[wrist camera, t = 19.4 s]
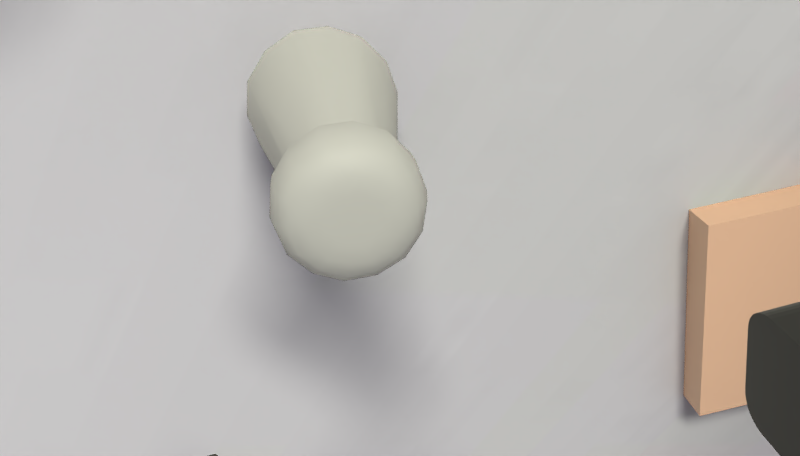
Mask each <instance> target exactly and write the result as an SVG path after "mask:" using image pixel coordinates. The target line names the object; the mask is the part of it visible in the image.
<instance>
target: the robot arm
mask: <svg viewBox="0 0 800 456" xmlns="http://www.w3.org/2000/svg"><path fill="white" fill-rule="evenodd" d="M745 396H746V401H747V405H748V409H749V411H750V414H751V416H752V419H753V421H754V423H755V424H756V426H757V428H758V429H759V431H760V432H761V433H762V435H763V436H764V437H765V438H766V439H767V441H768V442H769V443H770V444H771V445H772V446H773V448H774V449H775V450H776V451H777V452H778V453H779V455H780V456H800V302H796V303H792V304H789V305H785V306H781V307H777V308H773V309H770V310H766V311H762V312H758V313H755V314H753V315H752V316H751V318H750V319H749V323H748V338H747V360H746V382H745ZM209 456H218V455H216V454H213V455H209Z"/></svg>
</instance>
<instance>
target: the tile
mask: <svg viewBox="0 0 800 456" xmlns="http://www.w3.org/2000/svg"><path fill="white" fill-rule="evenodd" d="M796 302H800V185H796V186H792V187H787V188H783V189H778V190H774V191H769V192H765V193H760V194H756V195H752V196H747V197H743V198H738V199H734V200H729V201H725V202H721V203H716V204H712V205H707V206H703V207H698V208H694V209H689V230H688V263H687V296H686V329H685V362H684V396H685V398H686V399H687V400H688V402H689V403H690V404H691V405H692V407H693V408H694V409H695V411H696V412H697V413H698V414H699V416H702V415H706V414H710V413H714V412H718V411H722V410H727V409H731V408H735V407H739V406H743V405H747V401H746V396H745V382H746V360H747V338H748V323H749V319H750V318H751V316H752V315H753V314H755V313H758V312H762V311H766V310H770V309H773V308H777V307H781V306H785V305H789V304H792V303H796Z"/></svg>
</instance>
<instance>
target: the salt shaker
mask: <svg viewBox="0 0 800 456" xmlns="http://www.w3.org/2000/svg"><path fill="white" fill-rule="evenodd" d="M247 116H248V118H249V121H250V123H251V125H252V127H253V130H254V132H255V134H256V137H257V139H258V141H259V143H260V146H261V147H262V149H263V151H264V152H265V154H266V156H267V157H268V159H269V161H270V163H271V164H272V166H273V168H274V169H275V170H274V172H273V174H272V177H271V183H270V216H269V217H270V219H271V221H272V223H273V226H274V228H275V230H276V232H277V234H278V236H279V238H280V240H281V242H282V245H283V247H284V249H285V251H286V253H287V255H288V256H290V257H291V258H292V259H294V260H295V261H297V262H298V263H299V264H301V265H302V266H303V267H305V268H306V269H308V270H309V271H310V272H312V273H313V274H317V275H322V276H326V277H330V278H335V279H339V280H343V281H347V280H352V279H357V278H363V277H368V276H373V275H378V274H379V273H381V272H383V271H384V270H386V269H387V268H389V267H391V266H392V265H394V264H395V263H397V262H399V261H400V260H402V259H404V258H405V257H406V255H407V254H408V252H409V251H410V249H411V248H412V246H413V245H414V243H415V242H416V240H417V239H418V237H419V236H420V234H421V233H422V231H423V225H424V219H425V213H426V206H427V190H426V187H425V184H424V182H423V179H422V176H421V174H420V171H419V168H418V166H417V163H416V160H415V159H414V157H413V156H412V154H411V153H410V152H409V151H408V150H407V149H406V148H405V147H404V146H403V145H402V144H401V143H400V142H399V141H398V140H397V90H396V87H395V84H394V81H393V78H392V76H391V73H390V70H389V67H388V64H387V62H386V60H385V59H384V58H382V57H381V56H380V55H379V54H378V53H377V52H376V51H375V50H374V49H373V48H372V47H371V46H370V45H369V44H368V43H367V42H366V41H365V40H364V39H363V38H362V37H360V36H357V35H354V34H351V33H348V32H345V31H342V30H338V29H335V28H332V27H329V26H325V27H317V28H309V29H302V30H294V31H292V32H291V33H289V34H288V35H287V36H285V37H284V38H282V39H281V40H280V41H278V42H277V43H275V44H274V45H273V46H271V47H270V48H268V49H267V50H266V51H265V52H264V54H263V55H262V57H261V59H260V60H259V62H258V64H257V66H256V67H255V69H254V71H253V73H252V74H251V76H250V78H249V80H248V81H247Z"/></svg>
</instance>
